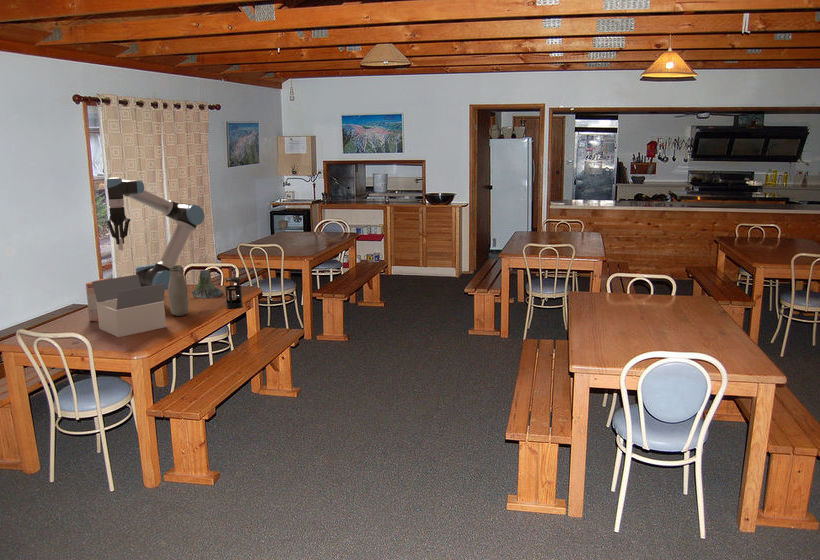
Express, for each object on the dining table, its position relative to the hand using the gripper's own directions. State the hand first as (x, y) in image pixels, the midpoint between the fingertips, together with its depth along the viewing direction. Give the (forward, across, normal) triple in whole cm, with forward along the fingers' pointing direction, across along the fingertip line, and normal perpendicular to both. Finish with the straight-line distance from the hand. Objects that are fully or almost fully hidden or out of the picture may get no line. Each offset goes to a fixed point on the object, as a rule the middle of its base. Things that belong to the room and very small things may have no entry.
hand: (121, 250), depth 376 cm
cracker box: (+37, -13, +2) cm, 39 cm away
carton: (+36, -10, -29) cm, 47 cm away
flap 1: (+17, -10, -16) cm, 25 cm away
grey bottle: (+37, +19, -24) cm, 48 cm away
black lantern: (+37, +50, -30) cm, 69 cm away
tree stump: (+37, +55, +10) cm, 67 cm away
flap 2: (+17, -10, -42) cm, 47 cm away
